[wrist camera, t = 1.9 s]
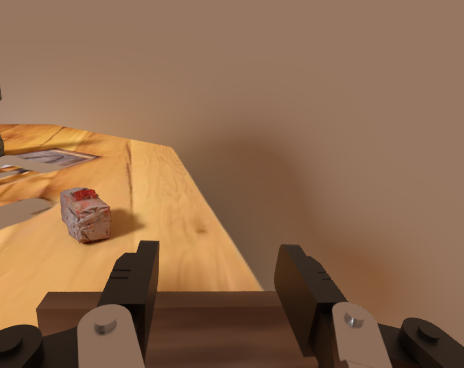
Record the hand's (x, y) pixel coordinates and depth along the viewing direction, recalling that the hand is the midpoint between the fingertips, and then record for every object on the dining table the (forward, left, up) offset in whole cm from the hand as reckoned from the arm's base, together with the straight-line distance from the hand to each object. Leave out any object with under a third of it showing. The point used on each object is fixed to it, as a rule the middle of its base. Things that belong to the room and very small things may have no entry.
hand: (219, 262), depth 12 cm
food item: (-54, +5, -26) cm, 60 cm away
